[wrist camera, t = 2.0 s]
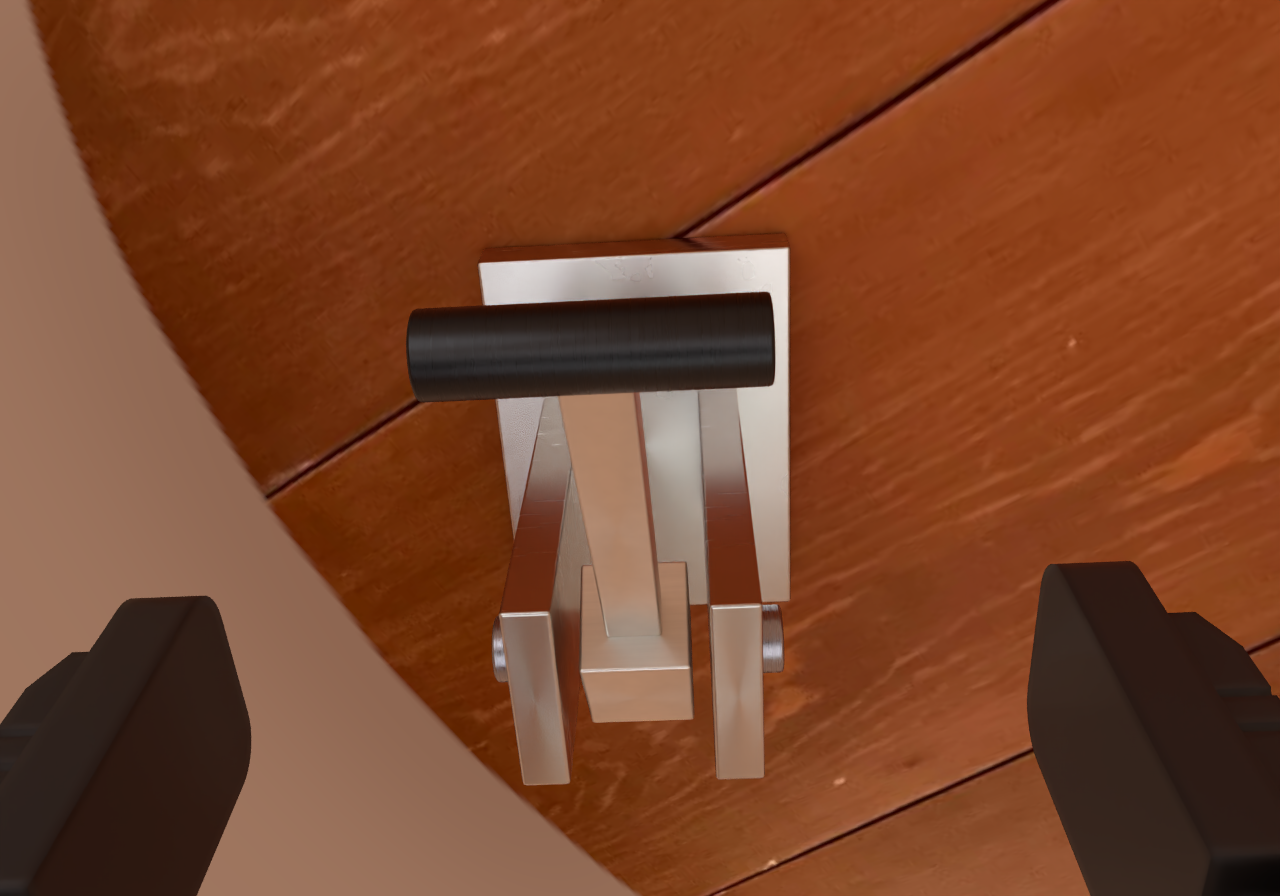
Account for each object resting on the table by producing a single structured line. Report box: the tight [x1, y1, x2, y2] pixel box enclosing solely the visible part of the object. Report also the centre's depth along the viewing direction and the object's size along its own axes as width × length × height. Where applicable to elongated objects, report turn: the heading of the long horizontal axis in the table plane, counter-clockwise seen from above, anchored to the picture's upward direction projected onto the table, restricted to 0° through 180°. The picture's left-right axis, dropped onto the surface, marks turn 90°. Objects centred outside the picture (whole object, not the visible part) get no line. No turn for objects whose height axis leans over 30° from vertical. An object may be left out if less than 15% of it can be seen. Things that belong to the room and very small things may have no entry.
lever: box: [406, 291, 776, 722], centre depth 21 cm, size 12×5×2 cm, turn 3°
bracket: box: [477, 233, 791, 785], centre depth 29 cm, size 11×8×12 cm
